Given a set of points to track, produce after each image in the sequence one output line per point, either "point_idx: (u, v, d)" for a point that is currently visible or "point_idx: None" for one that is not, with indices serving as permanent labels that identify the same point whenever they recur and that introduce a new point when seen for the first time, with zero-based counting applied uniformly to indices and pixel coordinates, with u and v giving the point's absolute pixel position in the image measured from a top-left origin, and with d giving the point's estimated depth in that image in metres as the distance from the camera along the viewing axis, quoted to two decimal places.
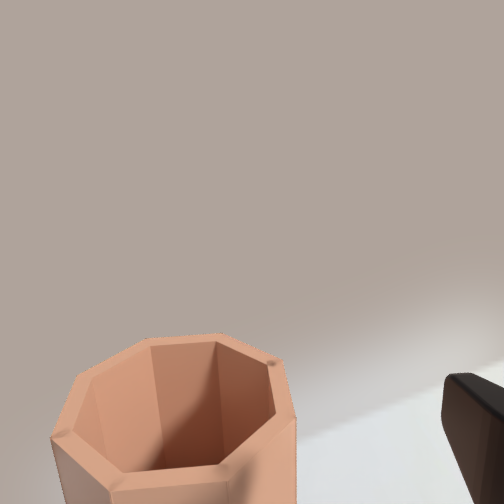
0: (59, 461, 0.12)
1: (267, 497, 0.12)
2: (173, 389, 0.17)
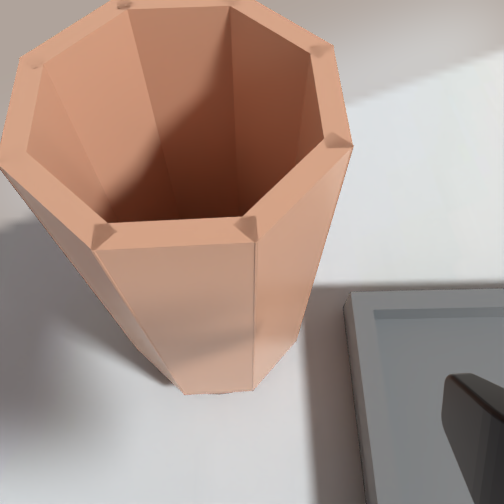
0: (19, 190, 0.09)
1: (300, 238, 0.10)
2: (167, 75, 0.12)
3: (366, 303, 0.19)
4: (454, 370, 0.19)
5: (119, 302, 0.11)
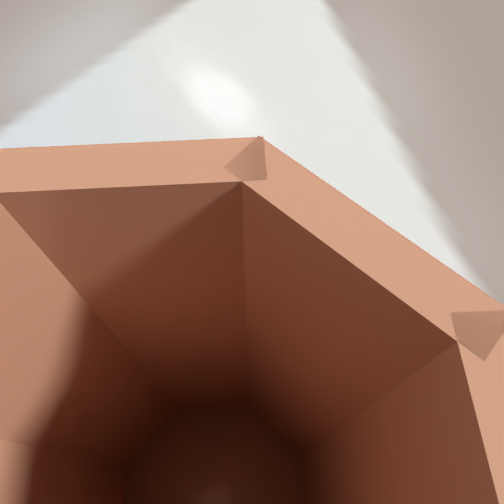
0: None
1: None
2: (113, 274, 0.06)
3: None
4: None
5: None
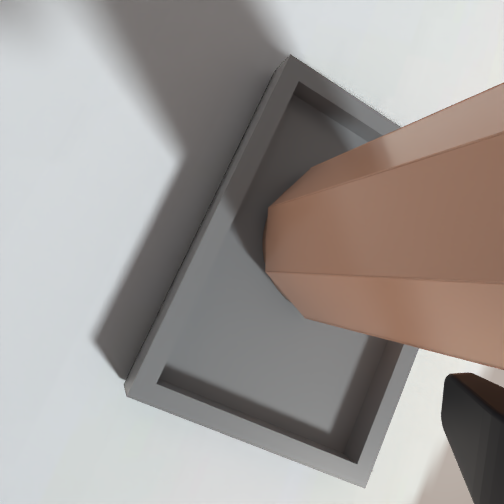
0: (484, 151, 0.09)
1: None
2: None
3: (296, 72, 0.20)
4: None
5: (397, 256, 0.11)
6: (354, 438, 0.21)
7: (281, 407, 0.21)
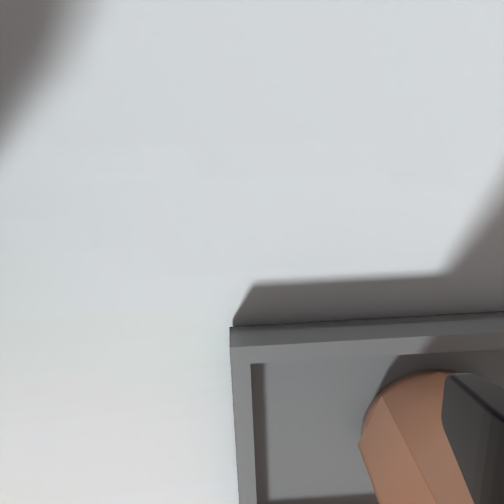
0: None
1: None
2: None
3: None
4: None
5: None
6: None
7: (271, 455, 0.23)
